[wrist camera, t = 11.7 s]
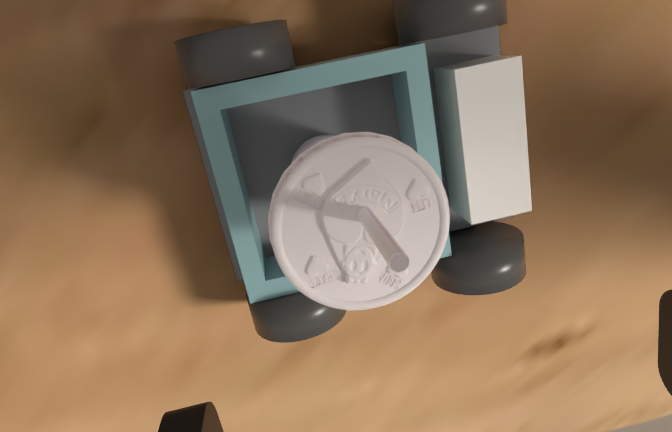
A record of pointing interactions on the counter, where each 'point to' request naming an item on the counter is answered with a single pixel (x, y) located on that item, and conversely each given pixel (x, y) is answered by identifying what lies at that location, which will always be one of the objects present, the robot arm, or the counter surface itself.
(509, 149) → the chassis
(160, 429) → the robot arm
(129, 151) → the counter surface
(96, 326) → the counter surface
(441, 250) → the smoothie
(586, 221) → the counter surface
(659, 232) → the counter surface
